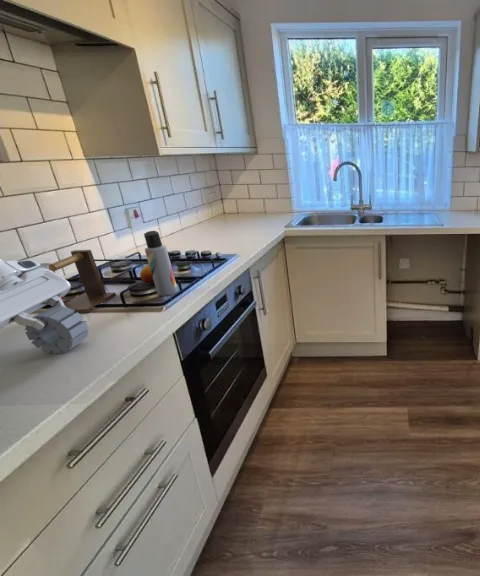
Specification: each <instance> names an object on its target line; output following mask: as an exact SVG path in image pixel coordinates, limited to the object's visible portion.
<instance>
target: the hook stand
mask: <svg viewBox="0 0 480 576" xmlns="http://www.w3.org/2000/svg"><path fill="white" fill-rule="evenodd" d="M70 254H71V256H67V257H64V258H63V259H60V260H58V261H55V262H52V263H50V265H49V269H50V270H52V271H55V272H56V271H58V270H60V269H64V268H66V267H68V266H70V265H73V264H74V265H75V268H76V270H77V273H78V275H79V278H80V281H81V284H82V286H83V288H84V291H85V292H84V293H82V294H80V295H78V296H76V297H74V298H72V299H71V300H69V301H67V302H65V303H64V306H66V307H68V308H70V309H72V310H75V311H74V314H75V313H77V312H78V313H79V314H89V313H91V312H92V311H93V310H92V309H93V307H94V306H96V305H98V304H101V303H104V302H105V303H107V302H109V301H110V300H112V299H113V298H115V297H117V292H113V291H112V292H111V291H110V292H107V291H106V288H105V286H104V282H103V280H102V277H101V275H100V272H99V269H98V266H97V263H96V260H95V258H94V255H93V253H92V250H91V249H74V250H71V251H70ZM105 303H104V304H105Z"/></svg>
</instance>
